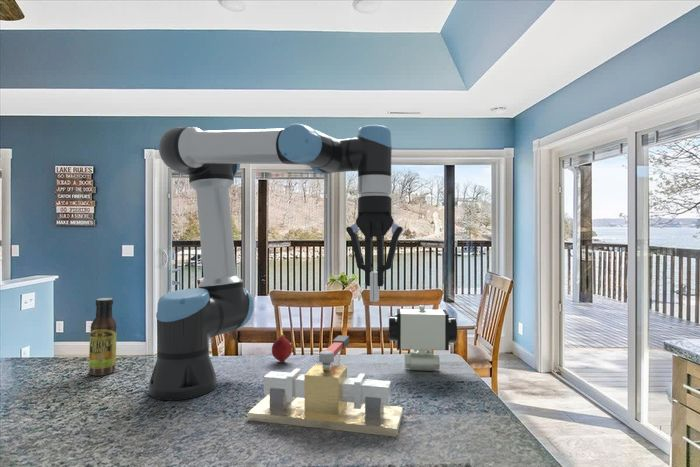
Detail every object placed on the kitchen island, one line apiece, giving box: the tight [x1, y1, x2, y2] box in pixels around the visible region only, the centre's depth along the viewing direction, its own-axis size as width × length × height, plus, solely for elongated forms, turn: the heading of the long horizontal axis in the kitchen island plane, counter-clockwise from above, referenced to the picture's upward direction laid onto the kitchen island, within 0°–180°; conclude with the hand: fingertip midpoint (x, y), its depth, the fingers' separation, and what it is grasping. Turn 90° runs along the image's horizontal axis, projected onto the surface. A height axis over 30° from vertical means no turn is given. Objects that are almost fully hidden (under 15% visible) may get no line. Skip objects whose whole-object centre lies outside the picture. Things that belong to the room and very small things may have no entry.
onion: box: [271, 334, 293, 363], centre depth 122 cm, size 6×6×8 cm
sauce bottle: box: [88, 297, 118, 376], centre depth 113 cm, size 6×6×20 cm
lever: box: [318, 334, 350, 364], centre depth 92 cm, size 16×3×2 cm, turn 167°
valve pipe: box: [247, 363, 404, 438], centre depth 86 cm, size 30×10×11 cm, turn 77°
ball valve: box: [388, 304, 458, 372], centre depth 116 cm, size 18×8×18 cm, turn 84°
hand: (374, 300), depth 95 cm, fingers closed
